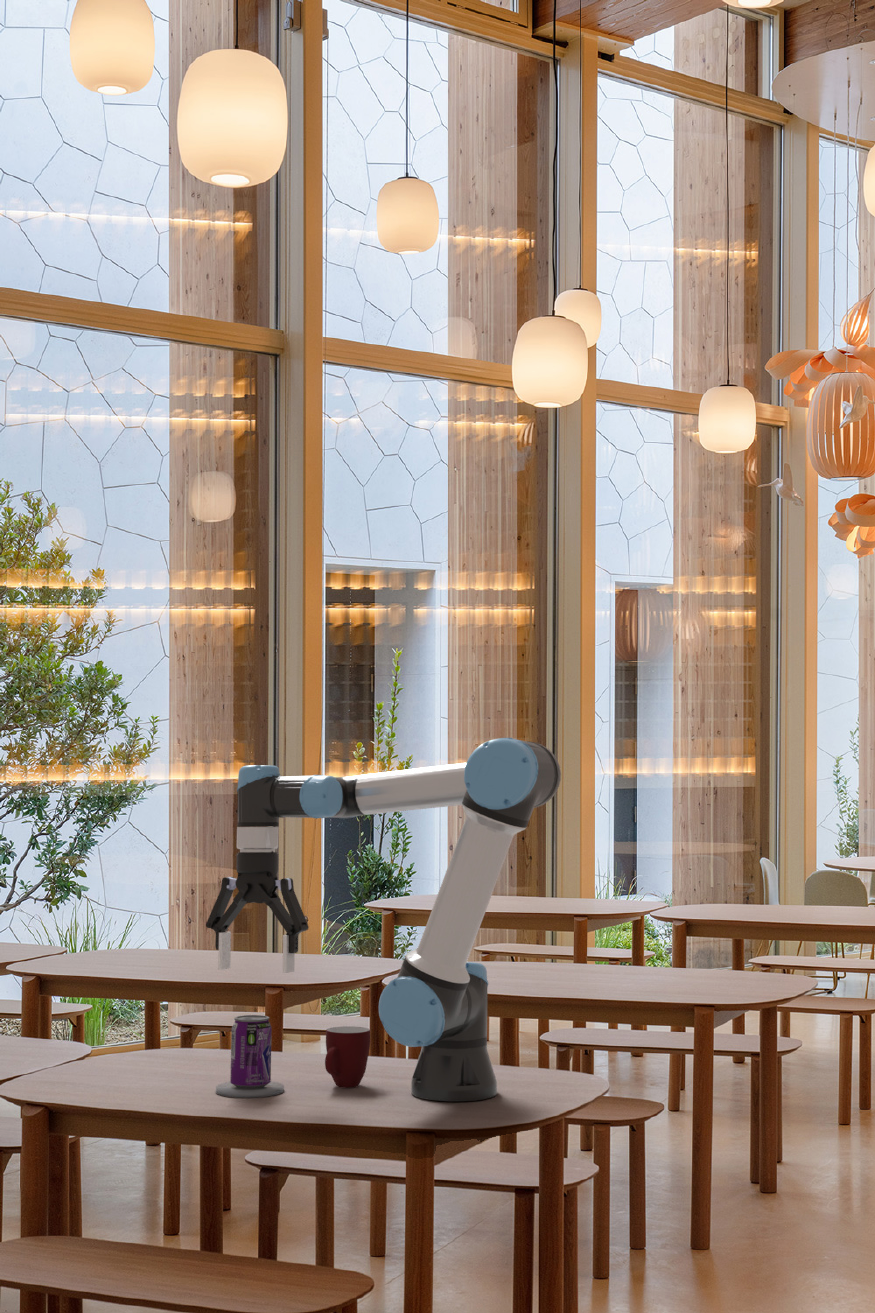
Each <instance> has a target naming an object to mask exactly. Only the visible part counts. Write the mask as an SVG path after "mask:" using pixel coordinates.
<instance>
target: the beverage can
mask: <svg viewBox="0 0 875 1313" xmlns="http://www.w3.org/2000/svg"><path fill="white" fill-rule="evenodd" d="M269 1020H270V1016H267V1015H263V1014H262V1015H261V1014H260V1015H259V1014H246V1015H238V1016H237V1015H236V1016H234V1022H233V1025H232V1026H231V1035H230V1036H231V1037H230V1038H231V1039H230V1041H231V1042H230V1043H231V1044H230V1050H231V1051H230V1081H229V1082H230V1083H231V1084H233V1085H235V1086H236V1087H237V1088H241V1089H258V1088H262V1087H264V1086H265V1085H267V1084H269V1083H270V1082H271V1081H272V1079H271V1075H272V1028H273V1027H272V1025H271V1022H270V1021H269Z"/></svg>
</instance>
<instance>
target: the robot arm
mask: <svg viewBox="0 0 875 1313" xmlns="http://www.w3.org/2000/svg"><path fill="white" fill-rule="evenodd" d="M561 776H562V772H561V766H560V763H559V761H558V758H556V755H555V754H554V753H553V752H552V751H551V750H550V749H548V748H547V747H546V746H544V745H543V744H540V743H538V742H534V741H530V740H529V741H528V740H527V741H526V740H520V739H517V738H513V737H500V738H494V739H490V740H488V741H485V742H483V743H482V744H480V745H479V746H478V747H476V748H475V749H474V750H473V752H472V753H471V754H470V756H469V757H468V758H467V761H466V762H458V763H449V764H442V765H434V766H424V767H418V768H417V767H416V768H408V769H401V770H393V771H384V772H376V773H367V774H366V773H365V774H359V775H357V774H356V775H350V776H347V775H346V776H340V777H339V776H337V777H335V776H333V775H324V774H313V775H291V776H290V775H289V776H285V775H281V773H280V768H279V767H278V766H277V765H269V764H268V765H265V764H264V765H263V764H262V765H258V764H257V765H255V764H253V765H251V764H250V765H244V766H241V767H240V769H239V770H238V778H237V788H236V793H237V827H236V849H237V850H239V851H238V852H237V853H236V872H237V877H236V878H235V877H234V876H226V877H222V879H221V884H220V891H219V893H218V895H217V897H216V900H215V902H214V904H213V907H212V909H211V912H210V914H209V916H208V919H207V921H206V922H205V923H206V924H205V926H206V928H207V929H211V930H213V931H214V932H215V946H214V947H215V950H216V951H218V963H217V964H218V967H217V968H218V969H217V970H225V969H226V970H229V969H231V954H232V952H231V950H232V948H231V944H232V941H231V940H232V937H231V936H232V932H231V931H229V929H228V928H230V926H231V925H232V923H233V922H234V921H235V919H236V918H237V917H238V915H239V914H240V912H241V911H242V910H243V908H244V907H245V906H246V905H247V904H253V903H256V904H265V905H266V906H268V907H269V909H270V910H271V912H272V913H273V914H274V916H275V917H276V919H277V921H278V922H279V923H280V925H281V926H282V928H283V930H284V931H285V932H286V933H285V934H283V935H282V974H283V973H284V974H287V973H288V974H289V973H292V972H295V954H297V953H298V952H299V935H300V934H302V933H303V932H305V931H308V930H309V928H310V926H309V924H308V922H307V919H306V917H305V914H304V912H303V910H302V907H301V904H300V901H299V899H298V897H297V895H296V892H295V889H294V880H293V878H292V877H288V878H287V877H286V878H281V879H279V878H278V872H279V853H278V852H277V851H276V850H277V849H278V848H279V832H280V830H279V829H280V828H279V827H280V823H279V822H280V819H283V818H291V819H292V818H297V819H304V818H305V819H316V820H317V819H326V818H327V819H328V818H329V819H330V818H337V819H338V818H339V819H352V818H355V817H358V816H359V817H361V816H367V815H375V814H376V815H378V814H386V813H387V814H388V813H396V812H406V811H407V812H408V811H415V810H417V811H418V810H426V809H435V808H444V807H445V808H446V807H454V806H461V807H462V809H463V812H464V814H465V820H464V823H463V825H462V827H461V831H460V832H459V833H460V834H459V836H458V839H457V842H456V843H455V845H454V846H455V847H454V850H453V853H452V854H451V858H450V860H449V862H448V866H447V869H446V871H445V874H444V877H443V879H442V881H441V885H440V887H439V890H438V892H437V896H436V898H435V901H434V904H433V906H432V909H431V912H430V914H429V916H428V917H429V918H427V919H428V920H427V923H426V924H425V928H424V931H423V933H422V935H421V936H422V937H421V938H420V941H419V944H418V946H417V948H415V949H413V950H411V951H409V952H407V953H406V954H405V956H404V958H403V961H402V964H401V967H400V969H399V972H398V975H397V977H396V978H394V979H392V980H391V981H390V982H388V984H386V986H385V987H384V988H383V990H382V991H381V994H380V997H379V1001H378V1016H379V1020H380V1022H381V1024H382V1026H383V1029H384V1030H385V1032H386V1034H388V1035H389V1037H390V1038H392V1040H394V1041H395V1042H396V1043H398V1044H400V1045H402V1046H406V1047H409V1048H412V1047H413V1048H416V1047H417V1048H418V1047H421V1050H420V1053H419V1055H418V1058H417V1063H416V1065H415V1068H414V1072H413V1075H412V1078H411V1082H410V1083H411V1084H410V1085H411V1088H410V1091H411V1095H412V1096H414V1097H416V1098H419V1099H420V1098H421V1099H425V1100H429V1101H430V1100H431V1101H437V1102H438V1101H440V1102H472V1101H473V1102H474V1101H482V1100H486V1099H490V1098H493V1097H495V1096H496V1095H497V1093H498V1091H497V1090H498V1084H497V1083H498V1082H497V1077H496V1075H495V1071H494V1068H493V1065H492V1061H491V1058H490V1055H489V1051H488V986H489V980H488V972H487V967H486V966H485V965H484V964H483V963H481V962H480V963H479V962H472V961H471V962H470V961H468V959H469V957H470V955H471V952H472V950H473V947H474V944H475V940H476V938H477V935H478V932H479V930H480V929H481V928H480V927H481V925H482V922H483V920H484V918H485V917H484V916H485V914H486V912H487V908H488V907H489V903H490V901H491V898H492V895H493V893H494V890H495V887H496V884H497V882H498V879H499V876H500V873H501V871H502V869H503V865H504V863H505V860H506V857H507V855H508V853H509V849H510V847H511V844H512V841H513V839H514V836H515V835H517V834H518V833H520V832H522V831H525V830H526V829H527V827H528V824H529V821H530V819H531V817H532V814H533V811H534V809H535V808H539V807H541V806H543V805H545V804H546V803H548V802H549V801H551V799H552V798H554V796H555V795H556V793H557V791H558V789H559V787H560V784H561V780H562V779H561V778H562V777H561ZM235 889H237V890H238V892H237V894H236V895H235V897H234V898H233V899H232V900H233V901H232V902H231V904H230V905H229V903H230V900H231V898H232V896H233V893H234V890H235ZM277 890H279V891H280V893H281V896H282V898H283V901H284V903H285V906H284V904H283V903H282V900H281V898H280V896H279V895H278V894H277V892H276V891H277ZM228 905H229V906H228ZM227 907H228V908H227ZM285 907H286V908H287V909H286V908H285Z"/></svg>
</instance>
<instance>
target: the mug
mask: <svg viewBox="0 0 875 1313" xmlns="http://www.w3.org/2000/svg"><path fill="white" fill-rule="evenodd" d="M370 1046H371V1029H370V1028H368V1027H366V1026H365V1027H364V1026H355V1025H354V1026H347V1025H346V1026H344V1025H343V1026H333V1027H329V1028H328V1027H327V1029H326V1030H325V1048H326V1054H325V1059H324V1067H325V1068H324V1069H325V1070H326V1072H327V1073H328V1074H329V1075H331V1077H332V1080H333V1082H334V1085H335V1086H336V1087H338V1088H341V1089H354V1088H358V1087H359V1086H360V1084H361V1081H362V1079H363V1077H364V1075H365V1073H366V1069H367V1065H368V1059H369V1052H370V1048H371V1047H370Z"/></svg>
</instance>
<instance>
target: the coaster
mask: <svg viewBox="0 0 875 1313" xmlns="http://www.w3.org/2000/svg"><path fill="white" fill-rule="evenodd" d="M284 1091H285V1085H284V1084H283V1083H281V1082H278V1081H272V1080H271V1082H270V1083H269V1084H267V1085H265V1086H264V1087H262V1088H258V1089H241V1088H237V1087H236V1086H235V1085H233V1084H231V1083H230V1081H226V1082H221V1083H220V1084H217V1085H216V1086H215V1094H217V1095H219V1096H222V1097H227V1098H236V1099H256V1098H268V1097H273V1096H277V1095H281V1094H282V1093H284Z"/></svg>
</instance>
